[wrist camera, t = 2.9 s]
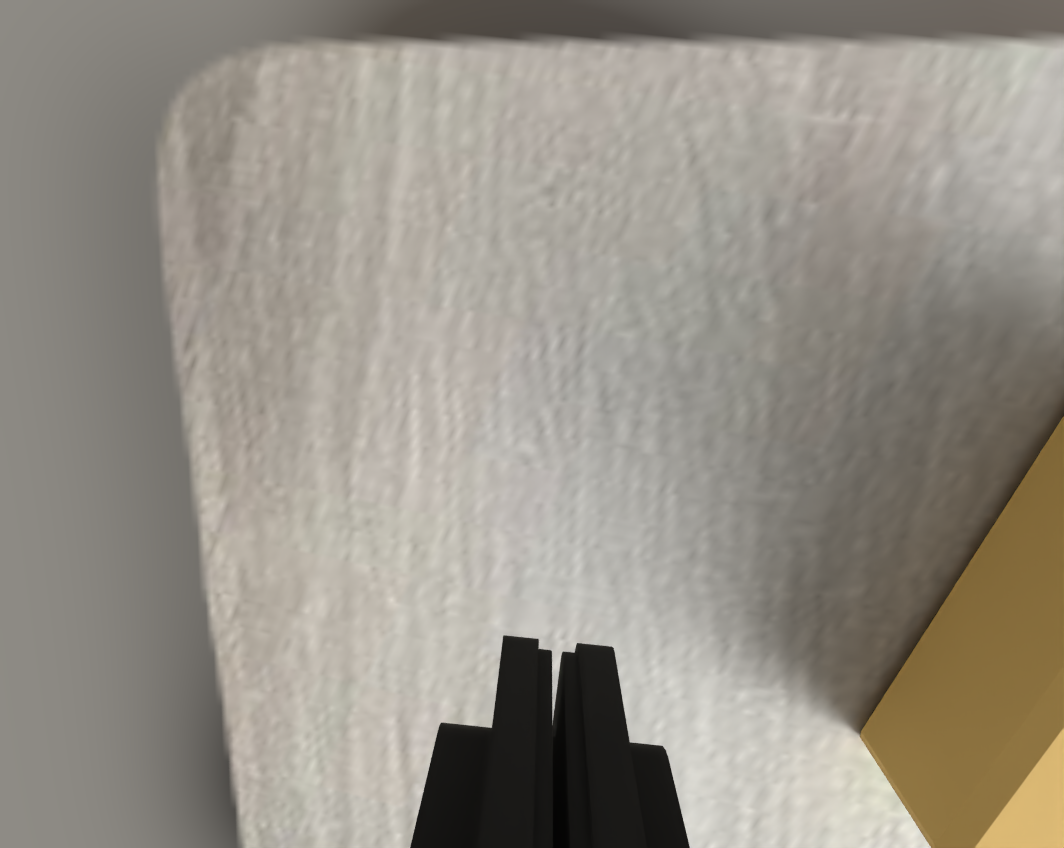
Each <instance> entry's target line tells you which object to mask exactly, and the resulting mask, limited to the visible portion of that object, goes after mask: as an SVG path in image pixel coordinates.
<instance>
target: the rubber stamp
mask: <svg viewBox="0 0 1064 848" xmlns="http://www.w3.org/2000/svg"><path fill="white" fill-rule="evenodd" d="M860 738H861V739H862V741H863V742H864V744H865V745H866V747H867V748H868V750H869V752H870V753H871V755H872V756H873V758H874V759H875V761H876V762H877V764H878V766H879V767H880V769H881V770H882V772H883V773H884V775H885V776H886V778H887V780H888V781H889V783H890V784H891V786H892V787H893V789H894V790H895V792H896V794H897V795H898V797H899V798H900V800H901V801H902V803H903V804H904V806H905V808H906V809H907V811H908V812H909V814H910V815H911V817H912V819H913V820H914V822H915V823H916V825H917V826H918V828H919V829H920V831H921V833H922V834H923V836H924V837H925V839H926V840H927V842H928V843H929V845H930V846H931V848H1064V416H1063V418H1062V419H1061V421H1060V422H1059V424H1058V426H1057V427H1056V429H1055V430H1054V432H1053V433H1052V435H1051V436H1050V438H1049V440H1048V441H1047V443H1046V444H1045V446H1044V447H1043V449H1042V450H1041V452H1040V454H1039V455H1038V457H1037V458H1036V460H1035V461H1034V463H1033V464H1032V466H1031V468H1030V469H1029V471H1028V472H1027V474H1026V475H1025V477H1024V478H1023V480H1022V482H1021V483H1020V485H1019V486H1018V488H1017V489H1016V491H1015V492H1014V494H1013V496H1012V497H1011V499H1010V500H1009V502H1008V503H1007V505H1006V506H1005V508H1004V510H1003V511H1002V513H1001V514H1000V516H999V517H998V519H997V520H996V522H995V524H994V525H993V527H992V528H991V530H990V531H989V533H988V534H987V536H986V538H985V539H984V541H983V542H982V544H981V545H980V547H979V549H978V550H977V552H976V553H975V555H974V556H973V558H972V559H971V561H970V563H969V564H968V566H967V567H966V569H965V570H964V572H963V573H962V575H961V577H960V578H959V580H958V581H957V583H956V584H955V586H954V587H953V589H952V591H951V592H950V594H949V595H948V597H947V598H946V600H945V601H944V603H943V605H942V606H941V608H940V609H939V611H938V612H937V614H936V615H935V617H934V619H933V620H932V622H931V623H930V625H929V626H928V628H927V629H926V631H925V633H924V634H923V636H922V637H921V639H920V640H919V642H918V643H917V645H916V647H915V648H914V650H913V651H912V653H911V654H910V656H909V657H908V659H907V661H906V662H905V664H904V665H903V667H902V668H901V670H900V671H899V673H898V675H897V676H896V678H895V679H894V681H893V682H892V684H891V686H890V687H889V689H888V690H887V692H886V693H885V695H884V696H883V698H882V700H881V701H880V703H879V704H878V706H877V707H876V709H875V710H874V712H873V714H872V715H871V717H870V718H869V720H868V721H867V723H866V724H865V726H864V728H863V729H862V731H861V734H860Z"/></svg>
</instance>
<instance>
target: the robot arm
mask: <svg viewBox="0 0 1064 848" xmlns="http://www.w3.org/2000/svg"><path fill="white" fill-rule="evenodd" d="M538 646H539V640H538V639H533V638H524V637H514V636H503V643H502V652H501V660H500V668H499V676H498V684H497V692H496V701H495V709H494V717H493V725H492V728H487V727H478V726H468V725H459V724H449V723H441V724H440V726H439V730H438V733H437V737H436V742H435V746H434V750H433V754H432V758H431V763H430V767H429V771H428V775H427V779H426V784H425V788H424V792H423V796H422V801H421V805H420V809H419V813H418V817H417V822H416V826H415V830H414V834H413V839H412V843H411V847H410V848H690V847H689V843H688V839H687V834H686V830H685V826H684V822H683V818H682V814H681V809H680V805H679V801H678V797H677V793H676V788H675V784H674V780H673V776H672V772H671V768H670V763H669V759H668V756H667V753H666V750H665V749H664V747H663V746H658V745H649V744H639V743H630V742H629V736H628V730H627V724H626V718H625V712H624V706H623V700H622V694H621V688H620V682H619V676H618V670H617V664H616V658H615V652H614V648H613V647H609V646H600V645H590V644H581V643H577V645H576V649H575V653H571V652H562V656H561V663H560V671H559V679H558V687H557V694H556V702H555V710H554V718H553V726H552V651H551V650H543V649H538Z"/></svg>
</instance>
